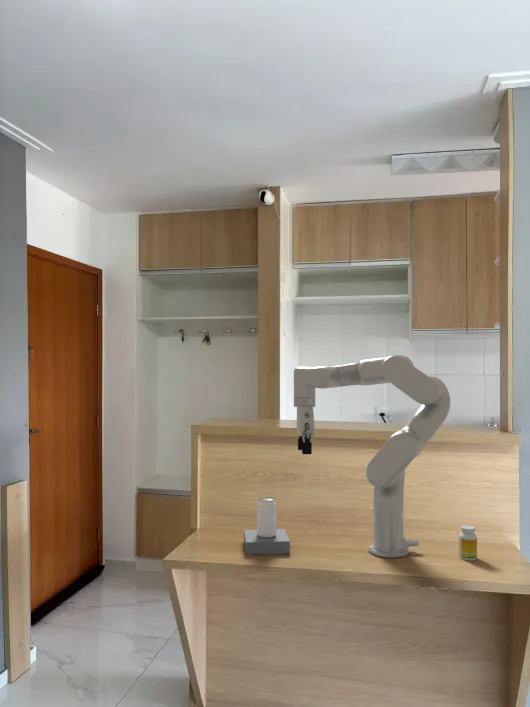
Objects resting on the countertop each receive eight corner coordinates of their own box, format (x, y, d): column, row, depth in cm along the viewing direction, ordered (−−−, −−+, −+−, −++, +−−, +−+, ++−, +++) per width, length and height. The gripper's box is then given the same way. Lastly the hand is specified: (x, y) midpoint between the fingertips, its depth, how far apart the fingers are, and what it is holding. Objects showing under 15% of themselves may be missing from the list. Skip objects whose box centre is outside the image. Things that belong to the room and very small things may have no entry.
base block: (284, 540, 199) (284, 528, 199) (290, 553, 185) (290, 541, 185) (243, 541, 197) (243, 529, 197) (246, 555, 183) (246, 542, 183)
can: (274, 538, 187) (274, 501, 188) (255, 537, 188) (255, 500, 189) (277, 532, 194) (277, 497, 194) (258, 532, 195) (258, 496, 195)
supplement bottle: (455, 556, 183) (455, 525, 183) (470, 554, 184) (470, 524, 184) (465, 561, 177) (465, 530, 177) (480, 560, 179) (480, 529, 179)
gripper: (319, 404, 192) (319, 455, 192) (311, 400, 209) (311, 448, 209) (297, 404, 191) (297, 456, 191) (290, 401, 208) (290, 448, 208)
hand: (304, 451), depth 200 cm, fingers open, 9 cm apart
